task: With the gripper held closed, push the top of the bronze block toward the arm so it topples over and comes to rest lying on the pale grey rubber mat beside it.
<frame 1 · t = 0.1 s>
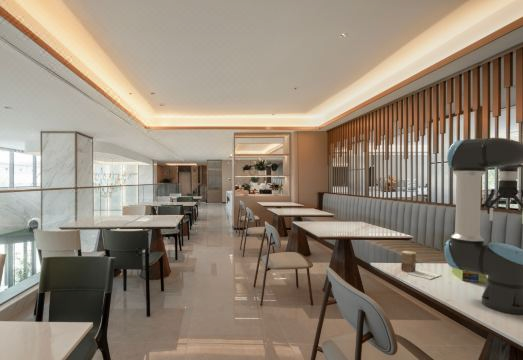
hand: (506, 222, 165), 28 cm above the table, fingers open, 13 cm apart
protein box: (468, 278, 163), on the table
bronze block: (408, 271, 171), on the table
grey mat: (424, 274, 165), on the table
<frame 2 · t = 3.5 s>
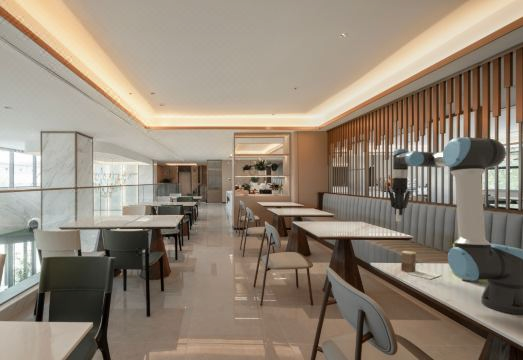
hand: (398, 221, 177), 25 cm above the table, fingers closed
nothing on the table moved.
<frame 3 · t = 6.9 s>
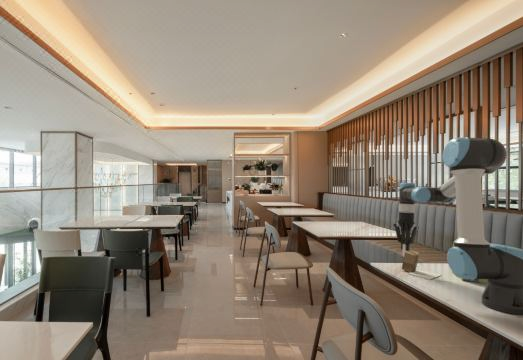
hand: (404, 256, 173), 7 cm above the table, fingers closed
bronze block: (408, 270, 171), on the table, tilted 10°, touching gripper
everything else where it was.
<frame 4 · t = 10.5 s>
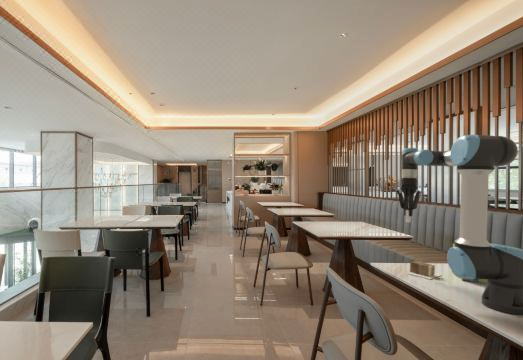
hand: (408, 222, 172), 26 cm above the table, fingers closed
bronze block: (412, 266, 170), point 3 cm above the table, tilted 90°, touching grey mat
everything else where it was.
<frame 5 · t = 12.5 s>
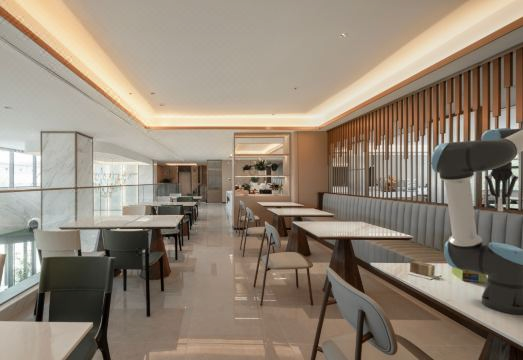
hand: (500, 211, 155), 34 cm above the table, fingers closed
nothing on the table moved.
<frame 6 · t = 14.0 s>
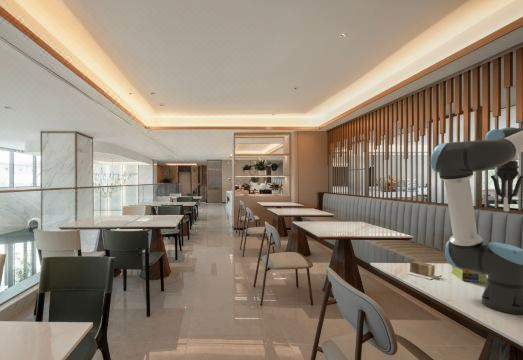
hand: (506, 210, 153), 34 cm above the table, fingers closed
nothing on the table moved.
at the end: bronze block tilted 90°; bronze block inside the target area on the grey mat (5.8 cm from its centre), point 2.9 cm above the grey mat's base; bronze block moved 3.7 cm from its start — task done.
